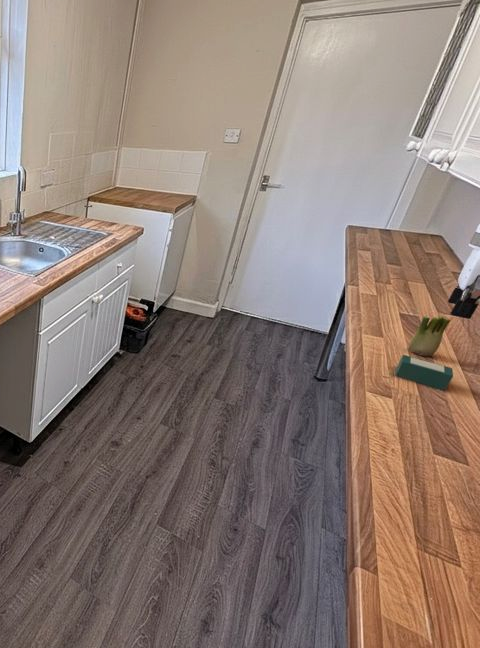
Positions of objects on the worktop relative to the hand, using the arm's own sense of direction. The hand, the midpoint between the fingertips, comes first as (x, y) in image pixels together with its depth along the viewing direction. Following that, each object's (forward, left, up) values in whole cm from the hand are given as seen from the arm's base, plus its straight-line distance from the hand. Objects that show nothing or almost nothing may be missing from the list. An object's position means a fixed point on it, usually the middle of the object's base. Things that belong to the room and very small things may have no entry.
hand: (458, 310), depth 100 cm
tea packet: (0, +2, -20) cm, 20 cm away
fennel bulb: (+9, -14, -20) cm, 26 cm away
